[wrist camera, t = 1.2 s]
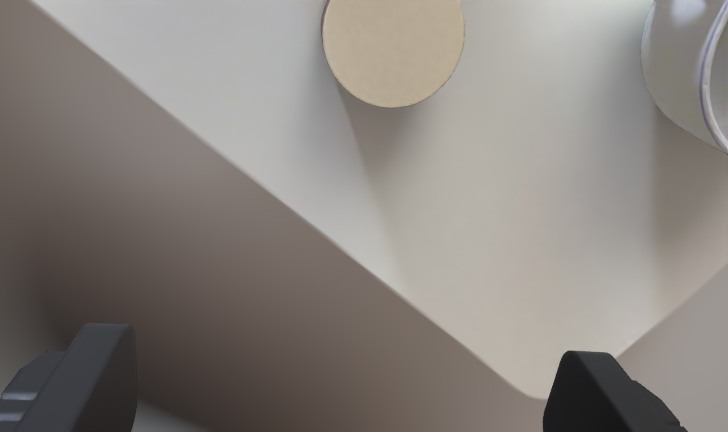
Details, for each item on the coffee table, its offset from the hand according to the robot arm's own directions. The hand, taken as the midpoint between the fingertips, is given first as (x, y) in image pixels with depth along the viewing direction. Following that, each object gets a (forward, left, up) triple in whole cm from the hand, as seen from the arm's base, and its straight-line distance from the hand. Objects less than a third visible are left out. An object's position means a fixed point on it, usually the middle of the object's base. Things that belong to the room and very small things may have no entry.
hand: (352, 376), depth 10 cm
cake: (-5, +2, -21) cm, 21 cm away
